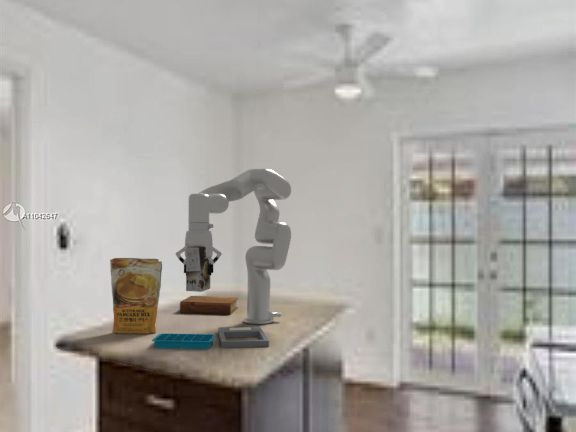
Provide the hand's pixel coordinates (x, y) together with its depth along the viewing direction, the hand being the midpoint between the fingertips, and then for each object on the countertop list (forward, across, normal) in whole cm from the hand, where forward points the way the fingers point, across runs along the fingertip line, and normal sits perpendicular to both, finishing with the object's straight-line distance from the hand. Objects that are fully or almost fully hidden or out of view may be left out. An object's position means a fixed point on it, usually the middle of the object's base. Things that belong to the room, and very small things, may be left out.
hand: (198, 274), depth 214 cm
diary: (+24, -5, -55) cm, 60 cm away
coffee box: (+6, 0, 0) cm, 6 cm away
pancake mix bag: (+23, +24, -10) cm, 34 cm away
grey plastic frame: (+23, -16, +6) cm, 28 cm away
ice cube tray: (+23, +5, +13) cm, 27 cm away
